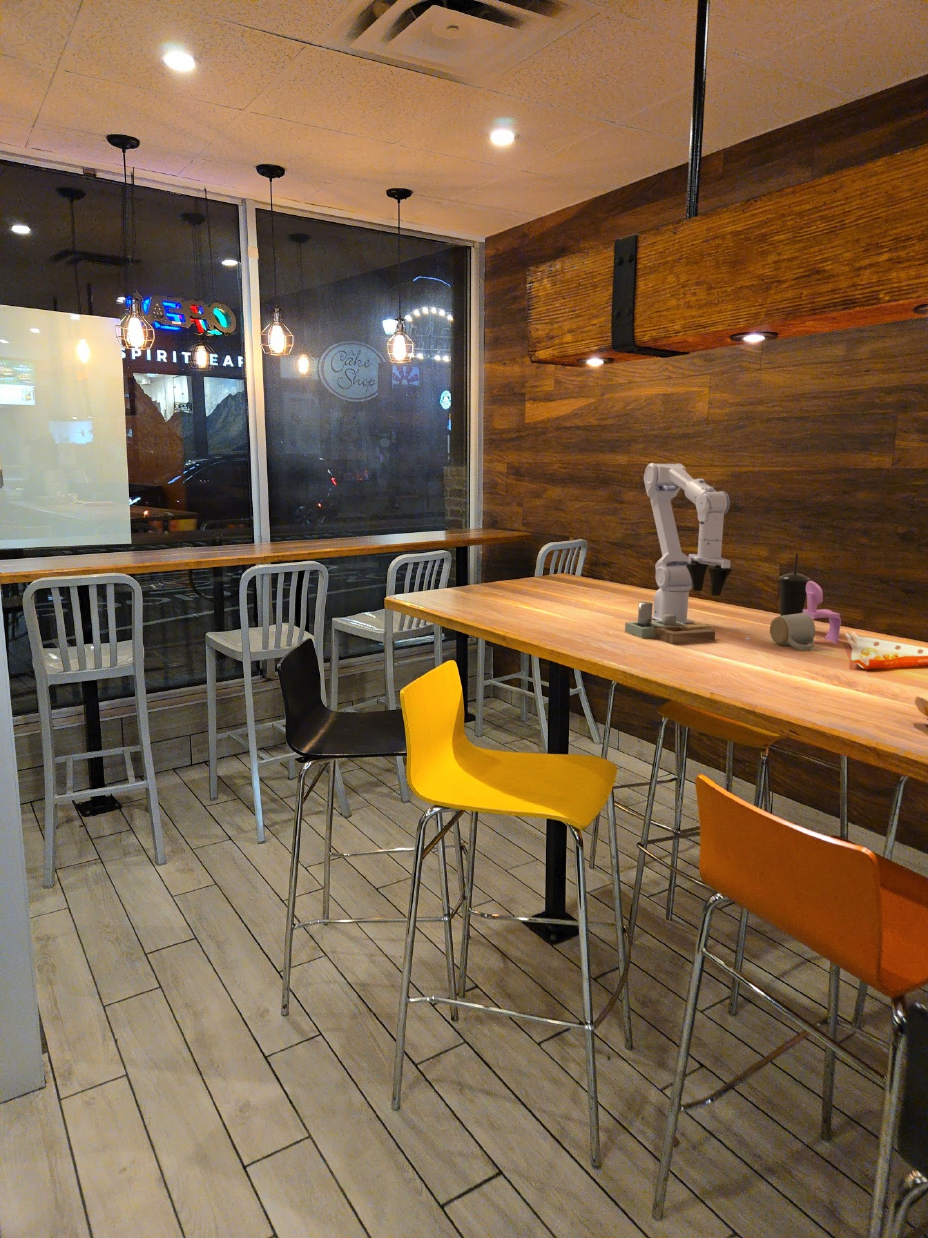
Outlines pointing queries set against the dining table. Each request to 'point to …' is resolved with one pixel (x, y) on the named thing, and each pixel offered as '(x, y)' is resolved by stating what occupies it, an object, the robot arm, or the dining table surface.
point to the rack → (649, 631)
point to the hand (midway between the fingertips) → (706, 593)
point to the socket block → (683, 634)
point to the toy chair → (813, 600)
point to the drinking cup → (792, 592)
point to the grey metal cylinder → (645, 614)
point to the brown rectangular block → (695, 627)
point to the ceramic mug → (793, 631)
